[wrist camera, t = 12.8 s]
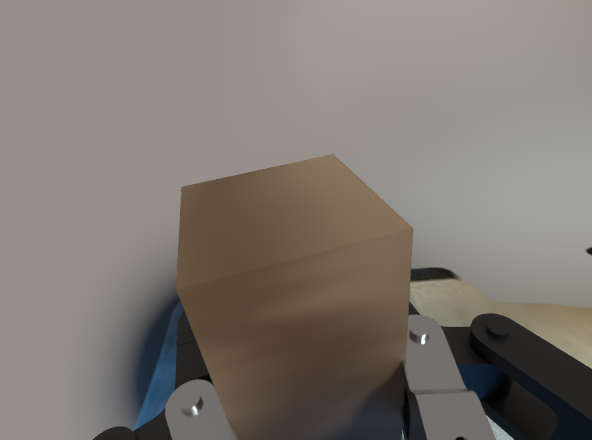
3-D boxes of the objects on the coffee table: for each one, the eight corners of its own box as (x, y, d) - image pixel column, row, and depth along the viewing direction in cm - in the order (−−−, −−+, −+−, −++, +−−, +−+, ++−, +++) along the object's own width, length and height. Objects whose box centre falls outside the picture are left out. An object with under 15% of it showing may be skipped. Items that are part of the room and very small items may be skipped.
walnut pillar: (351, 398, 17) (333, 154, 10) (397, 507, 13) (412, 227, 7) (258, 428, 16) (181, 187, 10) (279, 553, 12) (175, 289, 6)
